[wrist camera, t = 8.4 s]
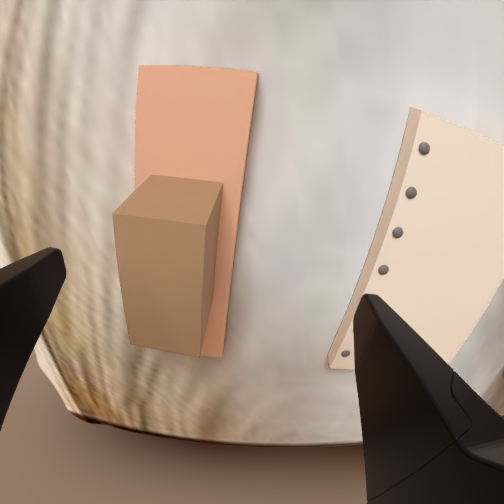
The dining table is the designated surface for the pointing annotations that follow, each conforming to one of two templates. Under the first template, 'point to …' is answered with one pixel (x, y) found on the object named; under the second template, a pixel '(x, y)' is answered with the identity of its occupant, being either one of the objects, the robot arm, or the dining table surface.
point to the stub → (184, 206)
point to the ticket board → (436, 237)
